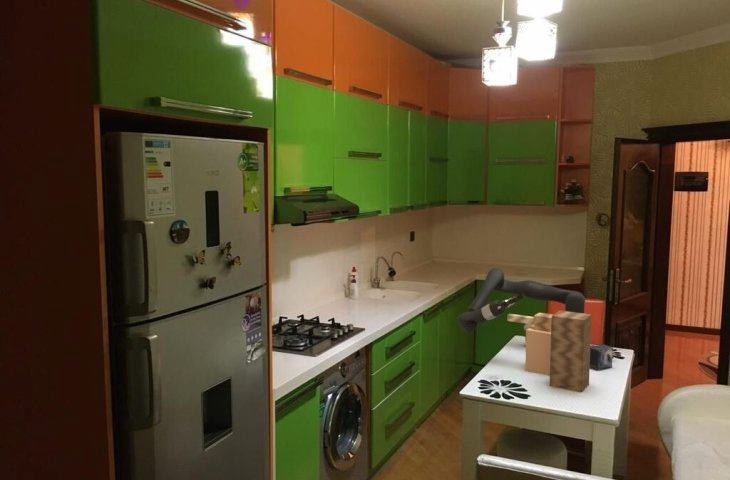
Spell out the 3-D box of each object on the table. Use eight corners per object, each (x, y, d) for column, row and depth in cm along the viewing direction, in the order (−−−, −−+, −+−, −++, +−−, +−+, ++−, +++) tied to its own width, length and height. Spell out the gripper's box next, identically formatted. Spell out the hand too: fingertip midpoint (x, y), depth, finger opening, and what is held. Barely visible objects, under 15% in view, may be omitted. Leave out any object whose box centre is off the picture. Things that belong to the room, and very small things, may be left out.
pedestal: (525, 370, 277) (526, 330, 275) (533, 363, 287) (534, 324, 285) (554, 376, 269) (555, 334, 267) (561, 369, 279) (563, 328, 277)
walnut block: (549, 386, 256) (551, 315, 253) (557, 378, 266) (559, 310, 263) (581, 392, 249) (584, 320, 245) (588, 384, 258) (591, 314, 255)
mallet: (505, 325, 283) (506, 311, 282) (510, 322, 289) (511, 308, 288) (552, 332, 270) (553, 318, 269) (557, 329, 276) (557, 315, 275)
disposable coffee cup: (526, 343, 321) (527, 322, 320) (543, 346, 316) (544, 325, 314) (520, 348, 313) (521, 326, 312) (537, 351, 308) (538, 329, 307)
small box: (597, 371, 275) (598, 350, 274) (586, 367, 281) (587, 346, 280) (612, 368, 280) (613, 347, 279) (601, 364, 286) (602, 343, 285)
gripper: (483, 306, 285) (511, 292, 276) (494, 300, 296) (521, 287, 288) (490, 320, 283) (518, 306, 275) (501, 314, 295) (528, 301, 286)
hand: (520, 297), depth 281 cm, fingers open, 8 cm apart
